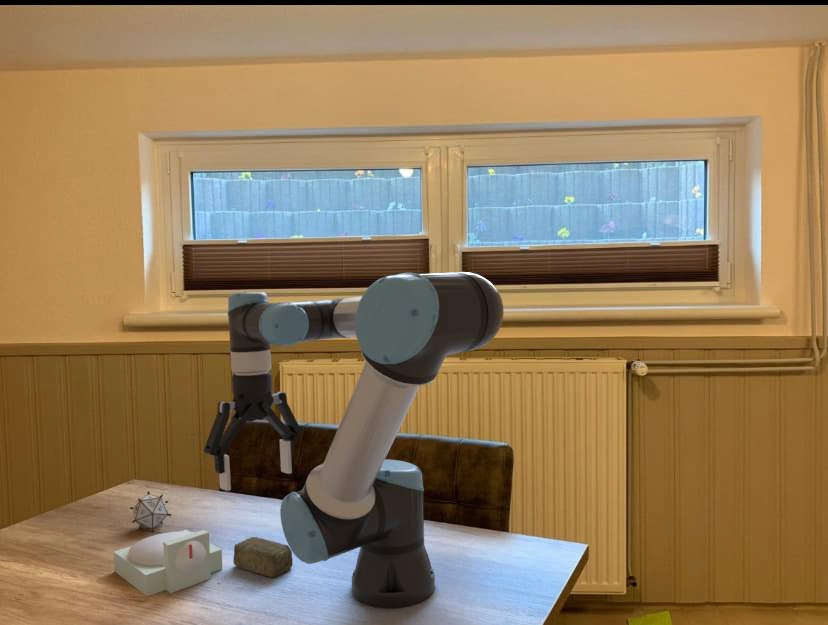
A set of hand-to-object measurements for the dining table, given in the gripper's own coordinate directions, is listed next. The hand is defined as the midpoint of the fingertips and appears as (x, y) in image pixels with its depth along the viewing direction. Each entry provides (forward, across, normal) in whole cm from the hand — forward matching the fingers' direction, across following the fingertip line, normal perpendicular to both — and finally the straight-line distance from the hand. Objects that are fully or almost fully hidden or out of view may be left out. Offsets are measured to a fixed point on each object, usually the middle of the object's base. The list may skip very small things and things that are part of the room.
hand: (257, 480), depth 132 cm
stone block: (+18, 0, 0) cm, 18 cm away
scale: (+17, +13, -12) cm, 25 cm away
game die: (+17, +6, -37) cm, 41 cm away
